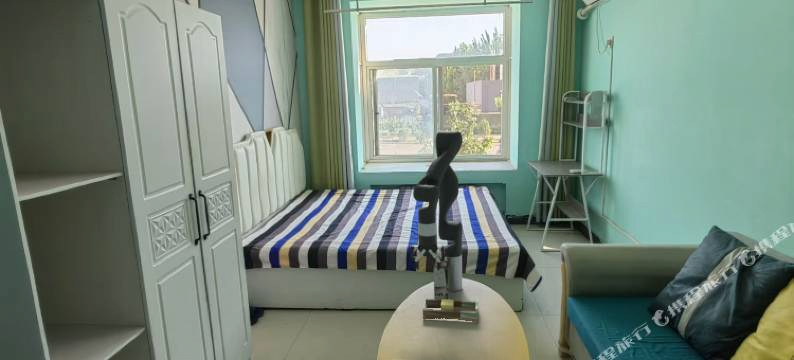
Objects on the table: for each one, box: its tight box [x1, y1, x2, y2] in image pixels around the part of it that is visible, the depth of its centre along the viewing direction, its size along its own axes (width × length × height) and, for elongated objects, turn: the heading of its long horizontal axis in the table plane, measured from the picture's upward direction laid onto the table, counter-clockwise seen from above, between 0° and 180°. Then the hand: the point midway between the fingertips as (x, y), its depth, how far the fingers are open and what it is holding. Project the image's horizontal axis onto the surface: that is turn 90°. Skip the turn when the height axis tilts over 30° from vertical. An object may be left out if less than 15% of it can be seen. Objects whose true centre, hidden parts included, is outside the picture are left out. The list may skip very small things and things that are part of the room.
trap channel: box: [422, 298, 479, 324], centre depth 193 cm, size 10×23×6 cm, turn 79°
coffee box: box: [433, 260, 450, 300], centre depth 208 cm, size 9×6×16 cm
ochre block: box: [441, 298, 455, 311], centre depth 193 cm, size 5×5×4 cm
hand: (428, 269), depth 190 cm, fingers open, 8 cm apart
